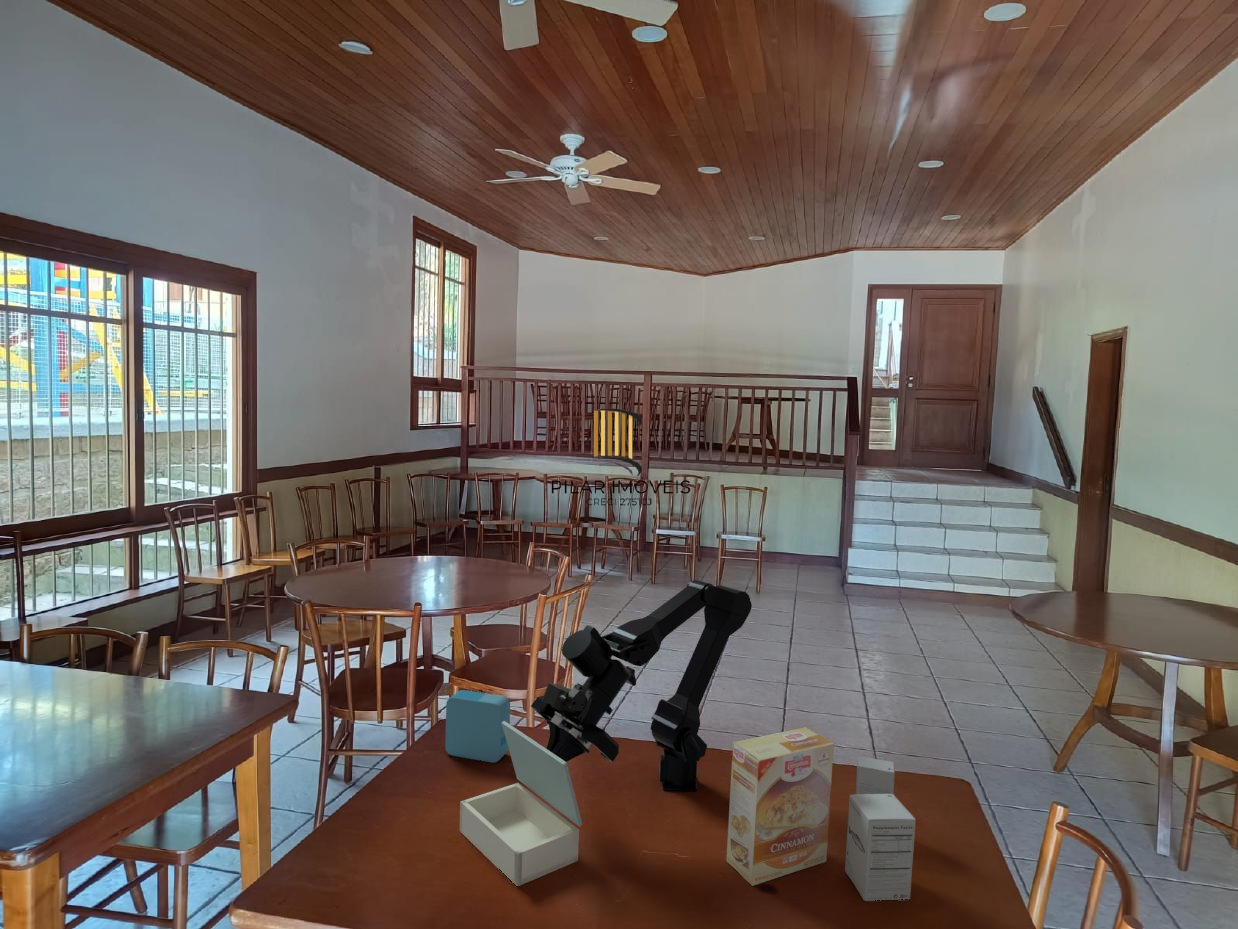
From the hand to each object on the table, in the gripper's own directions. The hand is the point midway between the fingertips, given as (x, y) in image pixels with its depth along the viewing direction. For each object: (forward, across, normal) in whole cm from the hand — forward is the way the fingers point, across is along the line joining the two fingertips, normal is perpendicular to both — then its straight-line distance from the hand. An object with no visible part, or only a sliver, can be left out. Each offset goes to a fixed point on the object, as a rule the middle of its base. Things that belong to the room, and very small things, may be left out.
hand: (542, 772), depth 123 cm
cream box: (+11, 0, +4) cm, 12 cm away
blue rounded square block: (+4, -32, +12) cm, 34 cm away
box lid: (0, 0, -1) cm, 1 cm away
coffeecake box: (-11, +27, +26) cm, 40 cm away
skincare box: (-25, +31, +41) cm, 57 cm away
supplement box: (-16, +40, +32) cm, 54 cm away
